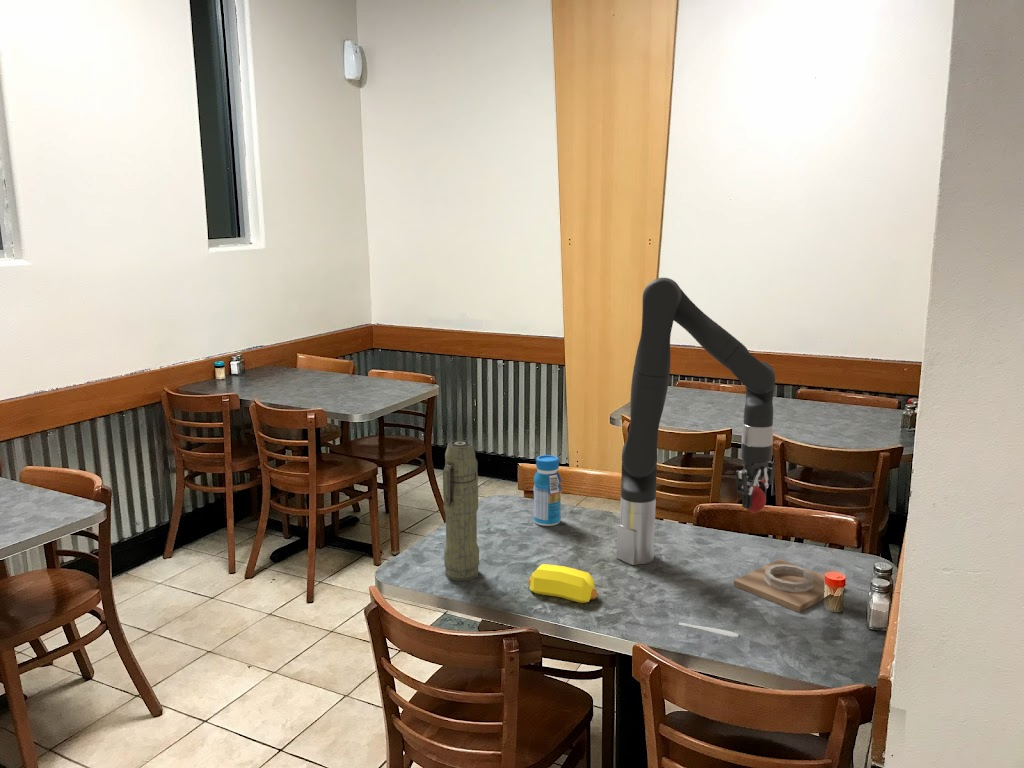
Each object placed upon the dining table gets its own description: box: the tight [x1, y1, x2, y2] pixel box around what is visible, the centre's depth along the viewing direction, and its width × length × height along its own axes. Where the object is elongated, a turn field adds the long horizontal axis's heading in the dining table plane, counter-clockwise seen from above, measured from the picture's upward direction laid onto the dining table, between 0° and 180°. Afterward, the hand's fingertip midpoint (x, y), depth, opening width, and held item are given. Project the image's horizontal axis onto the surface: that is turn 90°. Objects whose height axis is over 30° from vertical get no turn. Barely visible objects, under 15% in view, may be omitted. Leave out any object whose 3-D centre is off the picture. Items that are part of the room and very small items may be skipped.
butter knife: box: [678, 622, 739, 638], centre depth 185 cm, size 1×27×3 cm
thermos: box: [442, 439, 480, 582], centre depth 207 cm, size 9×12×35 cm
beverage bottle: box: [532, 454, 562, 527], centre depth 244 cm, size 8×8×20 cm
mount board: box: [733, 558, 825, 614], centre depth 203 cm, size 20×18×4 cm
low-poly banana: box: [528, 563, 598, 604], centre depth 199 cm, size 18×7×8 cm
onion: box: [745, 483, 767, 514], centre depth 209 cm, size 6×6×8 cm
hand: (753, 504), depth 209 cm, fingers closed on onion, 6 cm apart
